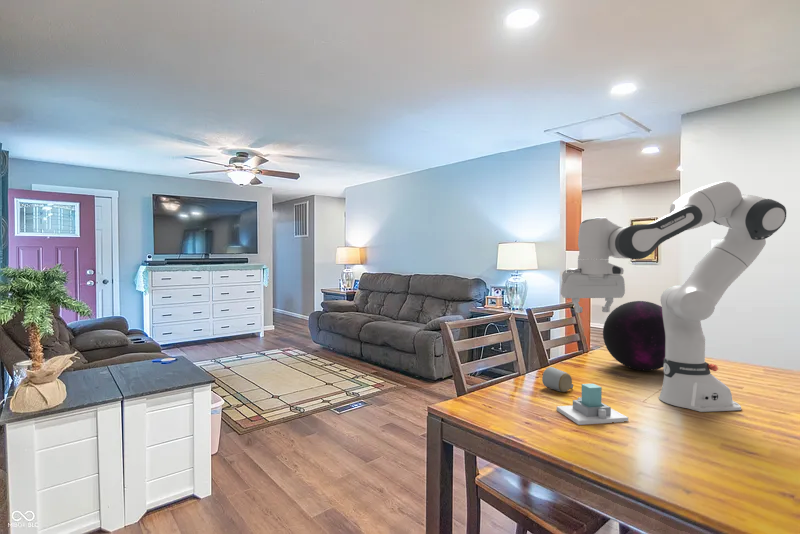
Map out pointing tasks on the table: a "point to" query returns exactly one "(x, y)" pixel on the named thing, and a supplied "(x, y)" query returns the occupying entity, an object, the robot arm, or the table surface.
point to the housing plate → (591, 413)
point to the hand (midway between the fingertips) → (592, 312)
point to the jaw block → (591, 395)
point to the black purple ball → (636, 335)
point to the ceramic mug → (557, 379)
